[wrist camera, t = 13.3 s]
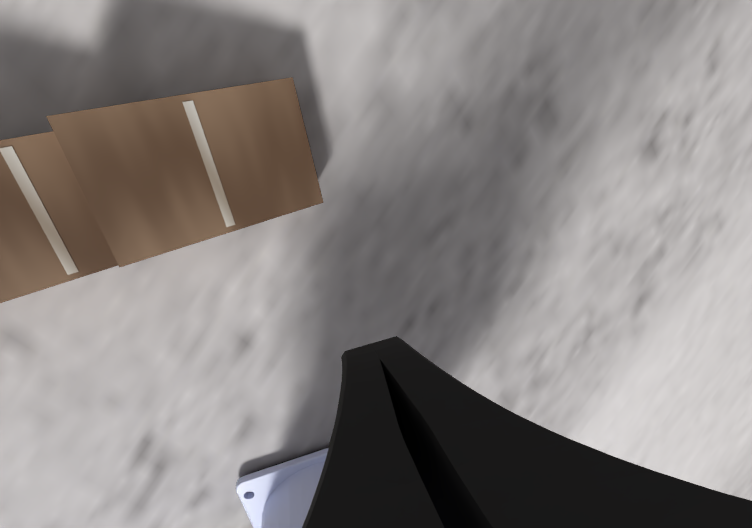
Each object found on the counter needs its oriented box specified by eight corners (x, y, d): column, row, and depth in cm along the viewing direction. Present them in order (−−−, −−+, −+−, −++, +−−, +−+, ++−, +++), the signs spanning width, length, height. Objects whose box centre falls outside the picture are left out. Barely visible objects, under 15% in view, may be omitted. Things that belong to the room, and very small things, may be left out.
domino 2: (323, 202, 15) (119, 267, 12) (307, 198, 16) (120, 255, 13) (292, 77, 13) (46, 116, 10) (277, 84, 15) (55, 120, 12)
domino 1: (187, 243, 14) (-67, 324, 11) (181, 235, 16) (-48, 306, 12) (136, 116, 13) (-180, 171, 9) (135, 120, 14) (-144, 168, 11)
